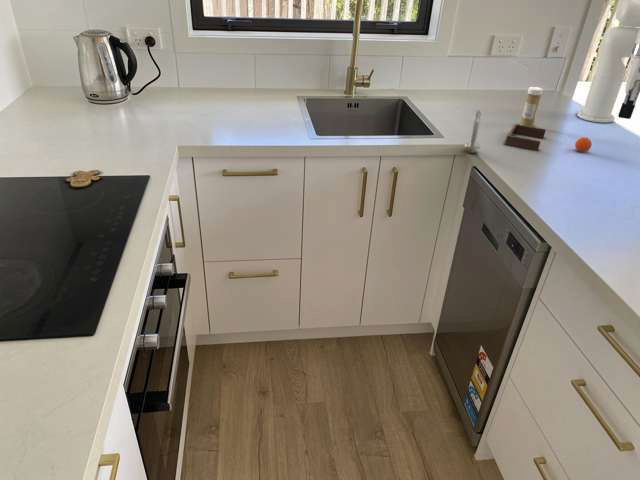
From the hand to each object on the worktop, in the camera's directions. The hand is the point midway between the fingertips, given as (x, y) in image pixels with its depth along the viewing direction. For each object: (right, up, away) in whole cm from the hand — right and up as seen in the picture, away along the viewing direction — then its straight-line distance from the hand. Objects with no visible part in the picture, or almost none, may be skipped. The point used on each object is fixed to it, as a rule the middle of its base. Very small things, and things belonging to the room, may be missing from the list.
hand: (624, 117), depth 141 cm
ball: (-7, -6, +9) cm, 13 cm away
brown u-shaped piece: (-22, -4, +17) cm, 28 cm away
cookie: (-151, -20, -15) cm, 154 cm away
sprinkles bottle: (-16, +4, +30) cm, 34 cm away
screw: (-43, -9, +8) cm, 44 cm away
